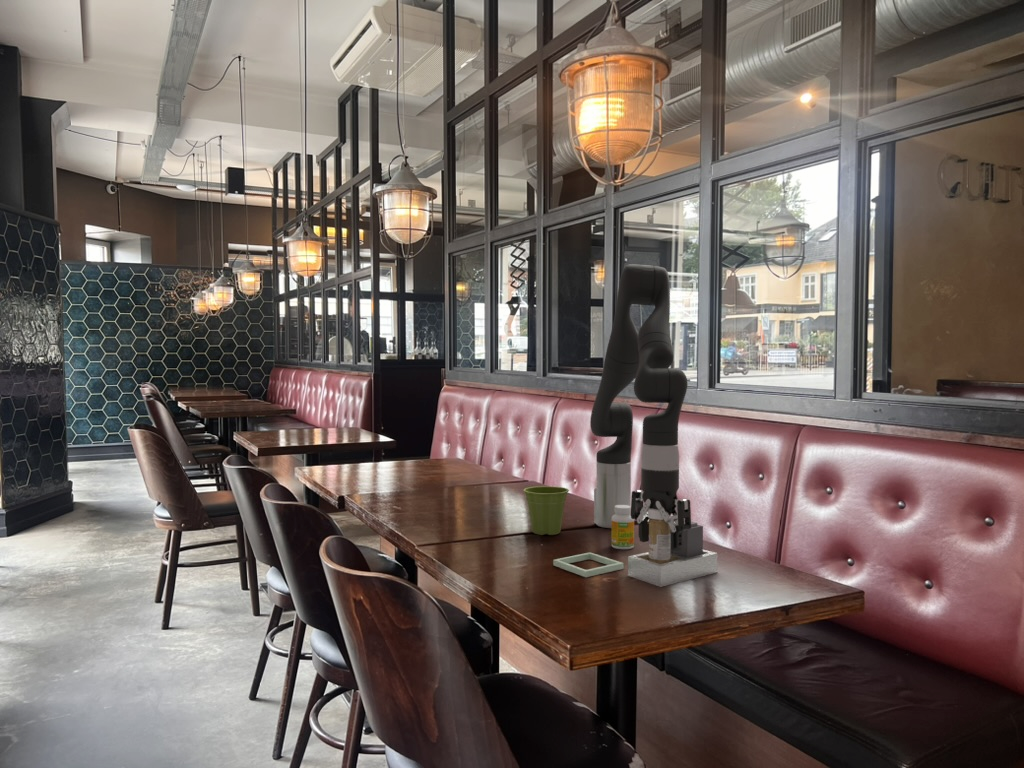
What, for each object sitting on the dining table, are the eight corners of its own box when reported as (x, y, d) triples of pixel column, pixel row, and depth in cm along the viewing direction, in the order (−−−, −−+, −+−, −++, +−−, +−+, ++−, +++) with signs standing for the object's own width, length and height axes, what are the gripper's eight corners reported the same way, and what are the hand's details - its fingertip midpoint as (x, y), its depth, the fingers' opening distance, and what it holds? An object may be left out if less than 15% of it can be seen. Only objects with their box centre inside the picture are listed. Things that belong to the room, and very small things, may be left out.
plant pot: (575, 529, 184) (575, 487, 184) (559, 540, 173) (559, 494, 173) (534, 525, 189) (534, 484, 189) (515, 535, 178) (515, 491, 178)
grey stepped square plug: (669, 567, 147) (669, 521, 147) (684, 563, 150) (685, 519, 150) (687, 572, 143) (687, 526, 143) (702, 568, 146) (703, 523, 146)
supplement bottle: (616, 550, 163) (617, 509, 163) (607, 544, 168) (607, 504, 168) (638, 548, 165) (638, 507, 164) (628, 543, 170) (628, 503, 170)
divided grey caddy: (628, 575, 143) (628, 556, 143) (683, 562, 153) (684, 544, 153) (660, 587, 136) (660, 566, 136) (717, 572, 146) (717, 553, 146)
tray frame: (553, 565, 151) (553, 559, 151) (590, 557, 157) (590, 552, 157) (585, 577, 142) (585, 571, 142) (623, 568, 148) (623, 563, 148)
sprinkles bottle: (645, 571, 144) (645, 506, 144) (666, 570, 145) (666, 506, 145) (652, 577, 140) (651, 510, 140) (674, 576, 140) (673, 510, 140)
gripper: (700, 469, 138) (699, 550, 138) (647, 461, 150) (647, 536, 150) (674, 472, 134) (673, 556, 134) (621, 463, 145) (621, 541, 146)
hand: (659, 545), depth 142 cm, fingers open, 8 cm apart
